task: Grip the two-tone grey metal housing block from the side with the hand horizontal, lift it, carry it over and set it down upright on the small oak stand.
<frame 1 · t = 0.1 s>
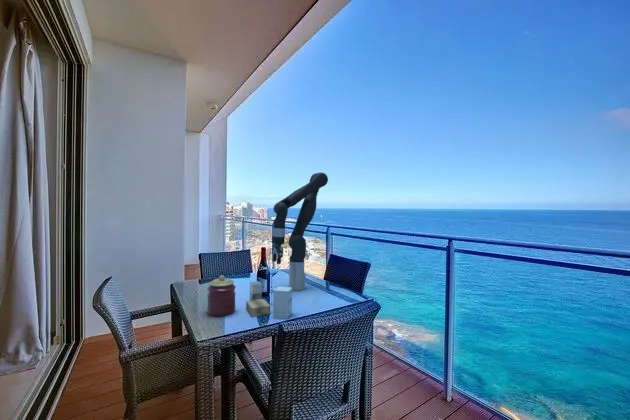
hand: (276, 262, 176), 17 cm above the table, tool pointing down, fingers open, 8 cm apart
housing: (255, 301, 157), on the table
supplement box: (282, 315, 139), on the table
canister: (221, 312, 142), on the table
stand: (257, 311, 143), on the table
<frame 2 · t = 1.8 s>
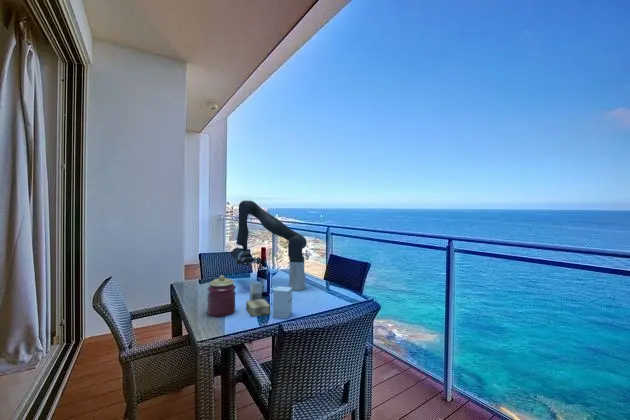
hand: (251, 263, 167), 19 cm above the table, tool horizontal, fingers open, 8 cm apart
nothing on the table moved.
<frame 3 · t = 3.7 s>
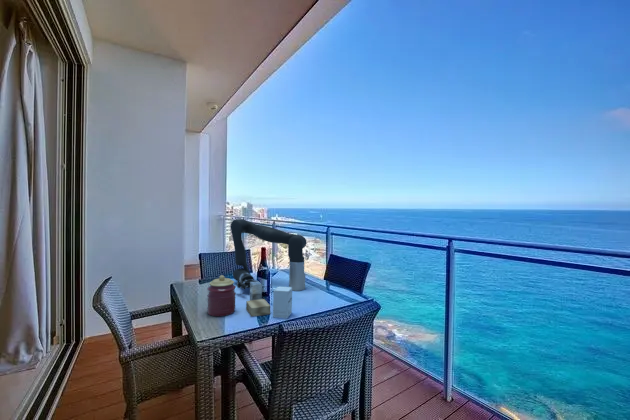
hand: (252, 286, 164), 6 cm above the table, tool horizontal, fingers open, 8 cm apart
nothing on the table moved.
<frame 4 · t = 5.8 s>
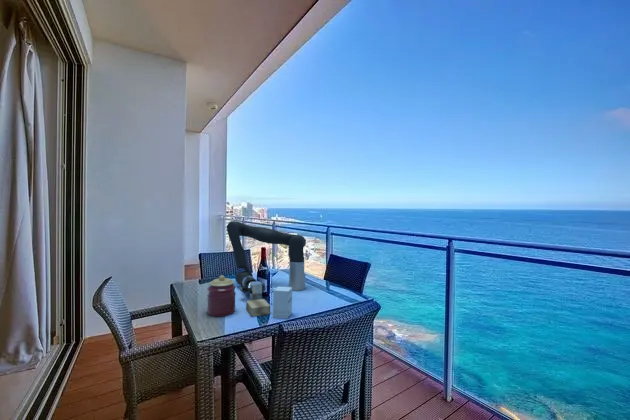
hand: (257, 291, 155), 6 cm above the table, tool horizontal, fingers closed on housing, 5 cm apart
housing: (255, 301, 157), on the table, touching gripper
everything else where it was.
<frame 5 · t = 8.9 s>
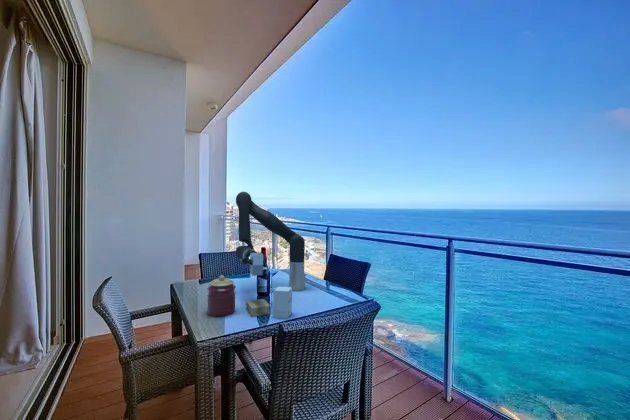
hand: (257, 262, 142), 24 cm above the table, tool horizontal, fingers closed on housing, 5 cm apart
housing: (256, 273, 145), point 18 cm above the table, touching gripper
everything else where it was.
when the fingers open (11 cm above the table, at t = 12.1 s): housing stays where it is, resting on stand.
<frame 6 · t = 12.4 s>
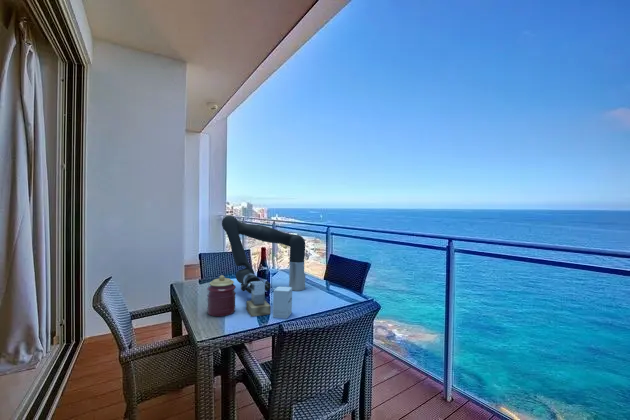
hand: (259, 290, 141), 11 cm above the table, tool horizontal, fingers open, 8 cm apart
housing: (257, 303, 143), point 4 cm above the table, touching stand
everything else where it was.
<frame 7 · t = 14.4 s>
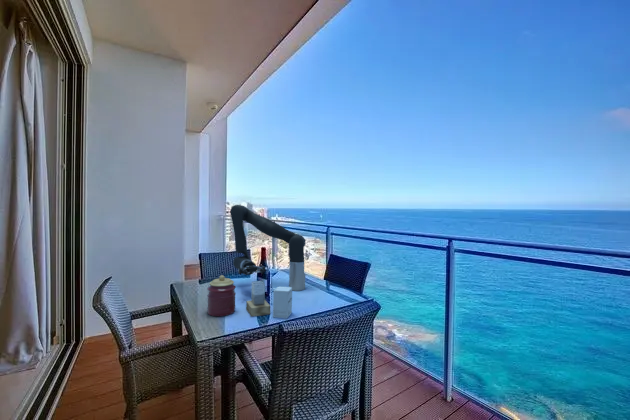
hand: (254, 272, 155), 16 cm above the table, tool horizontal, fingers open, 8 cm apart
nothing on the table moved.
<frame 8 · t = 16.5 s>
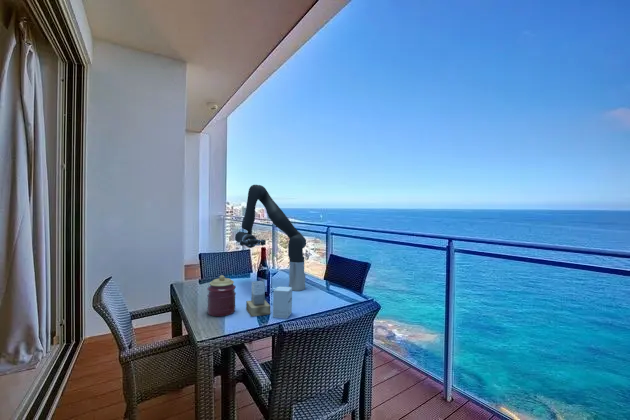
hand: (255, 244, 163), 30 cm above the table, tool horizontal, fingers open, 8 cm apart
nothing on the table moved.
at the end: housing inside the target area on the stand (0.2 cm from its centre), point 4.0 cm above the stand's base; housing tilted 0°; the gripper is holding nothing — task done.
